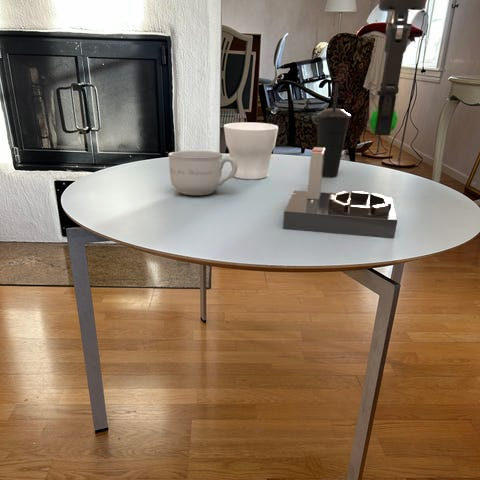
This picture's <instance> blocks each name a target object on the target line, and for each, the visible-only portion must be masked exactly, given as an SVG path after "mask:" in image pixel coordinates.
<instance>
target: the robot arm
mask: <svg viewBox="0 0 480 480" xmlns="http://www.w3.org/2000/svg"><path fill="white" fill-rule="evenodd" d="M426 4H427V0H379V2H378V9H379V10H380V11H382V12H387V13H388V12H392V13H393V14H392V20H391V23H390V22H389V23H387V24H386V27H385V45H384V53H385V59H384V66H383V72H382V79H381V83H380V88H379V89H380V90H377V92H376V93H377V94H376V95H377V96H378V103H377V109H378V114H377V121H376V127H375V132H374V133H373V134H374V136H387V137H390V136H391V132H392V131H391V125H392V119H393V113H394V110H395V107H396V100H397V94H399V92H400V91H399V90H400V89H399V85H400V84H399V83H400V78H401V73H402V71H401V70H402V65H403V59H404V54H405V53H406V51H407V47H408V40H409V36H410V34H411V31H412V23H408V21H409V20H408V19H409V13H416V12H422V11H424V10H425V8H426ZM390 131H391V132H390Z"/></svg>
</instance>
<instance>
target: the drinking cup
mask: <svg viewBox="0 0 480 480" xmlns="http://www.w3.org/2000/svg"><path fill="white" fill-rule="evenodd" d="M338 92H339V82H335V84H334V94H333V104H332V107H330V108H326V109H323V110H321V111H319V112H317V113H316V117H317V147H320V148H325V153H324V163H323V173H322V178H336V177H338V174H339V169H340V165H341V160H342V154H343V150H344V144H345V140H346V136H347V130H348V125H349V121H350V118H351V117H352V115H351V114H350V113H348V111H347V112H346V111H345V110H344V109H341V108H338V107H337V100H338Z"/></svg>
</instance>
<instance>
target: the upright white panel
mask: <svg viewBox="0 0 480 480" xmlns="http://www.w3.org/2000/svg"><path fill="white" fill-rule="evenodd" d="M324 153H325V148H320V147H318V146H314V147H313V148H312V149H311V152H310V160H309V161H310V162H309V170H308V171H309V173H308V184H307V191H308V194H307V199H319V196H320V192H322V183H323V177H322V173H323V163H324Z"/></svg>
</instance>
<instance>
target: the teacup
mask: <svg viewBox="0 0 480 480" xmlns="http://www.w3.org/2000/svg"><path fill="white" fill-rule="evenodd" d="M167 156H168V164H169V165H168V166H169V177H170V182H171V185H172V186H173V187H174V189H176V190H177V191H178V192H179V193H180V194H182V195H187V196H206V195H211V194H213V193H214V191H216V189H218V188H219V187H221V186H223V185H224V183H225V182H226V181H227V182H228V180H230V179H232V178H234V177H233V176H234V175H235V173H236V171H237V162H236V160H235V159H234V158H232V157H230V155H229V156H228V155H227V156H223V154H222V153H221V152H217V151H210V150H180V151H179V150H178V151H172V152H169V153H168V154H167ZM227 162H229V163H230V165H231V164H232V166H231V170H230V172H229V173H228V174H226V175H225V176H222V173H223V172H222V170H223V168H224V165H225V163H227Z"/></svg>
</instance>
